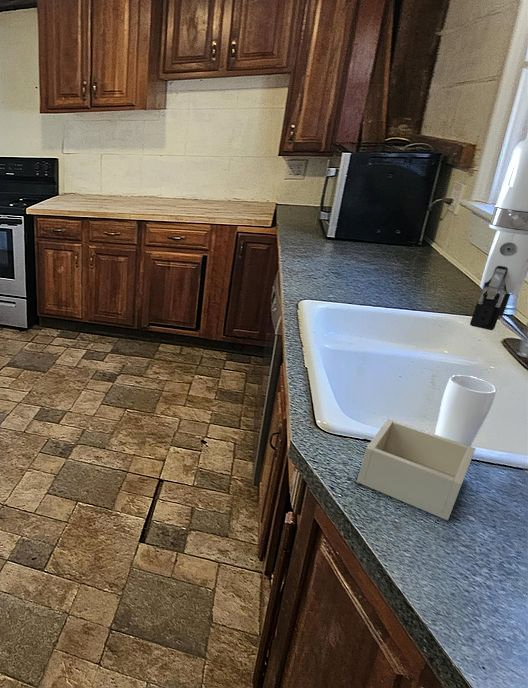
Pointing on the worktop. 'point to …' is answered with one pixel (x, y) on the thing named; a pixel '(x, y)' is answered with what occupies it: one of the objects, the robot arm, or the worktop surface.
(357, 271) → the worktop surface
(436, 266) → the worktop surface
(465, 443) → the drinking glass
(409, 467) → the beige open box
